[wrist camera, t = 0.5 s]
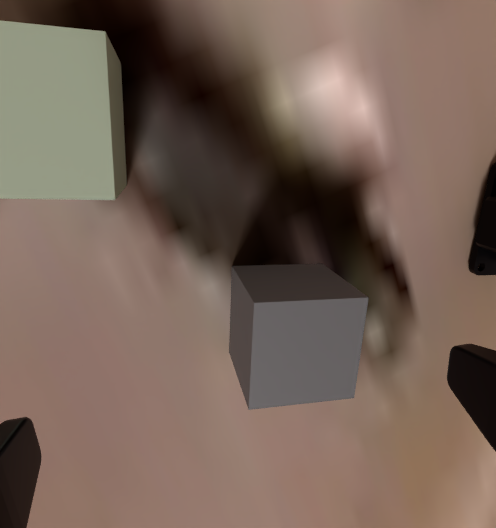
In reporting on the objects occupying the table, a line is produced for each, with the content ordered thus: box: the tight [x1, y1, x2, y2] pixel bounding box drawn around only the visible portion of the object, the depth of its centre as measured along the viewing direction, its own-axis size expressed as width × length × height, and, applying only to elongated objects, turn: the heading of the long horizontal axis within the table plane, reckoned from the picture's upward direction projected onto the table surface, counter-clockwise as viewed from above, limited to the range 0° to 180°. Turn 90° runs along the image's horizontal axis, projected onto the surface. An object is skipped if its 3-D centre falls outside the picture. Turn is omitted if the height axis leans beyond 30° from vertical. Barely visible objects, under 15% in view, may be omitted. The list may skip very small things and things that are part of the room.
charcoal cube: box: [229, 264, 369, 410], centre depth 19 cm, size 5×5×5 cm
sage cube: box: [0, 20, 127, 200], centre depth 14 cm, size 5×5×5 cm
